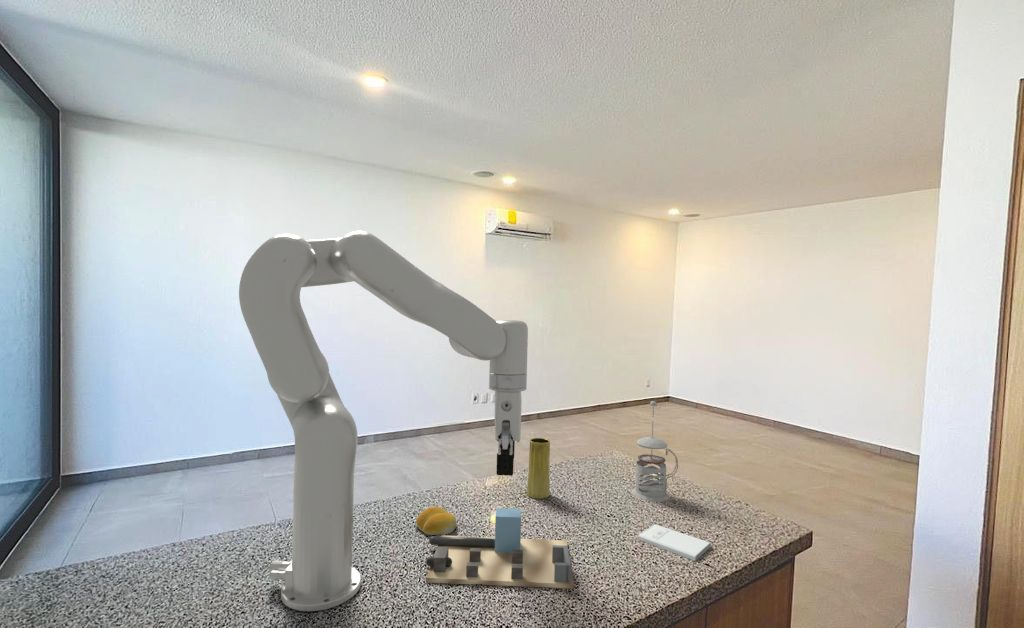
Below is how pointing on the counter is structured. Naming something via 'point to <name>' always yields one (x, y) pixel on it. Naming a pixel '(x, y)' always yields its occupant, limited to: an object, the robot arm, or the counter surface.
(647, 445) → the french press
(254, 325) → the robot arm
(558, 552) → the end holder
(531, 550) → the board
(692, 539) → the external hard drive
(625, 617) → the counter surface
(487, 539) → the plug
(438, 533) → the bread roll
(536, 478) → the vase
